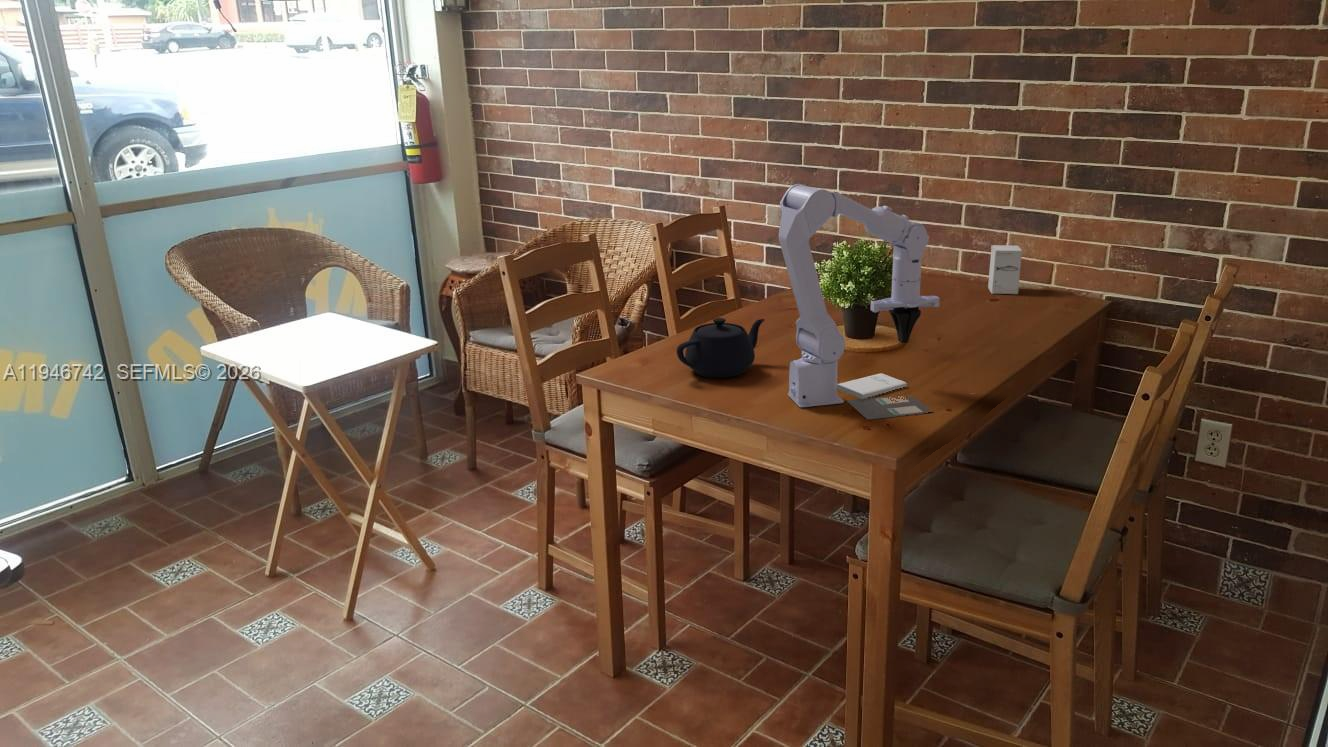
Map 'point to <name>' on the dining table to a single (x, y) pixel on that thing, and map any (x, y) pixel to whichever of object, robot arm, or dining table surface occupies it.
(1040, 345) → the dining table surface
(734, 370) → the teapot
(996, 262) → the supplement box
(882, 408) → the bay plate
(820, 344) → the robot arm
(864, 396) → the external hard drive
